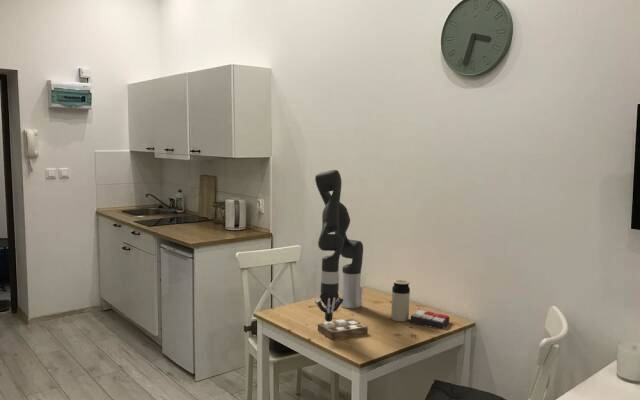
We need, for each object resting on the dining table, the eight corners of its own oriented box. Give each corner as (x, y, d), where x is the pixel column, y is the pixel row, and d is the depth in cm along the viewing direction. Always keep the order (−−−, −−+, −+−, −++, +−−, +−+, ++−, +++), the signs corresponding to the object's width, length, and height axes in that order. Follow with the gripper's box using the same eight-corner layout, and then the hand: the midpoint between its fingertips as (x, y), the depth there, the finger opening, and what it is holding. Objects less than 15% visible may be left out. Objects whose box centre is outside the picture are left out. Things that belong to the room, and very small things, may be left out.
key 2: (353, 326, 235) (354, 320, 235) (358, 328, 232) (358, 322, 231) (346, 327, 233) (347, 321, 233) (351, 329, 230) (351, 324, 230)
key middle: (342, 324, 232) (342, 319, 232) (346, 327, 229) (346, 321, 228) (335, 326, 230) (335, 320, 230) (339, 328, 227) (339, 322, 227)
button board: (352, 325, 238) (352, 318, 237) (367, 333, 227) (367, 326, 227) (317, 330, 229) (317, 323, 229) (331, 340, 219) (331, 332, 218)
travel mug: (408, 322, 243) (409, 284, 242) (390, 321, 245) (392, 282, 243) (408, 317, 251) (410, 279, 249) (391, 316, 253) (393, 278, 251)
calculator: (443, 321, 236) (410, 314, 243) (442, 331, 236) (409, 323, 243) (449, 315, 245) (418, 308, 252) (448, 324, 246) (417, 317, 253)
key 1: (330, 326, 229) (330, 321, 229) (334, 329, 226) (334, 323, 226) (322, 328, 227) (323, 322, 227) (327, 330, 224) (327, 324, 224)
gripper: (338, 277, 231) (337, 316, 233) (311, 280, 225) (310, 320, 226) (347, 281, 224) (346, 321, 226) (320, 284, 218) (319, 326, 220)
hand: (328, 321), depth 226 cm, fingers closed
